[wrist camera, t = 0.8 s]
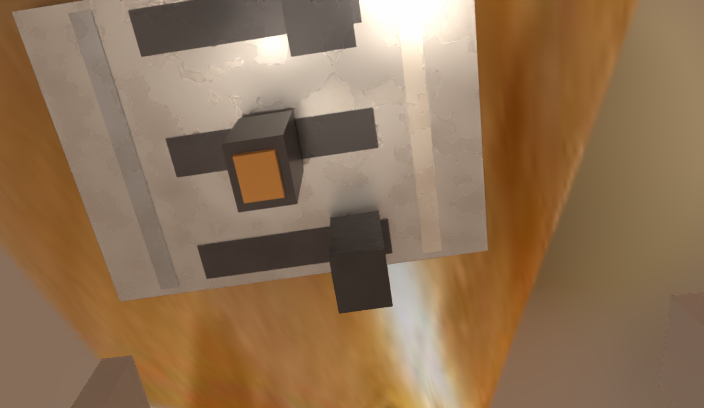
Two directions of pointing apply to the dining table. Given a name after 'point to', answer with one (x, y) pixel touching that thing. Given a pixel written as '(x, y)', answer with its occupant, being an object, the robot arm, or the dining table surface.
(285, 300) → the dining table surface
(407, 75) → the breaker panel
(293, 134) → the toggle
